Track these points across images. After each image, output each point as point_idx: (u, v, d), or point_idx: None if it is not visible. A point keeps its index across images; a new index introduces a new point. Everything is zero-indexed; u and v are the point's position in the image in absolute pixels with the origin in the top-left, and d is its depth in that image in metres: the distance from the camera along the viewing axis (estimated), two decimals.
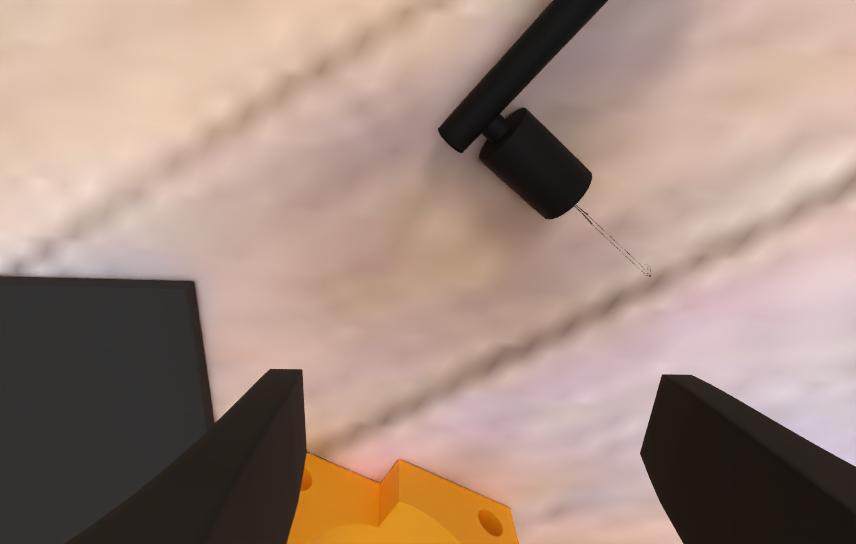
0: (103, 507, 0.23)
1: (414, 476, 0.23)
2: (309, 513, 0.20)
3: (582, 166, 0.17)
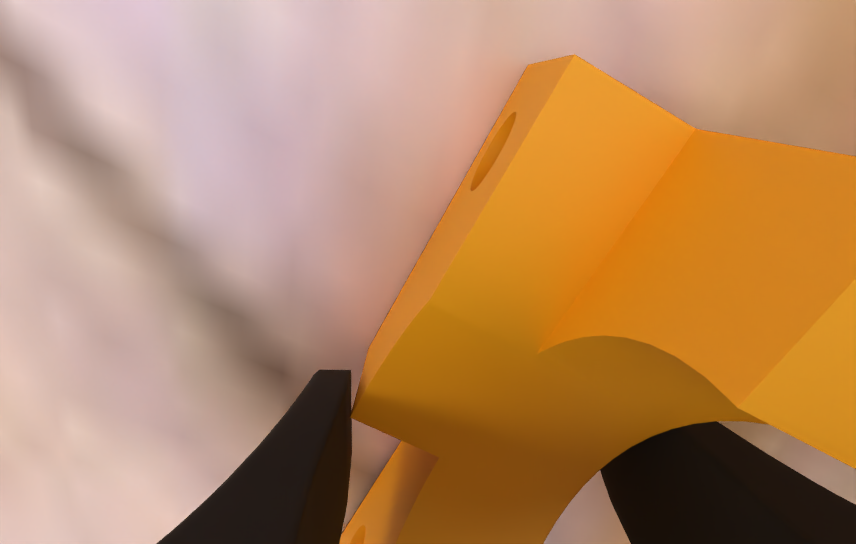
0: None
1: (382, 332, 0.10)
2: None
3: None
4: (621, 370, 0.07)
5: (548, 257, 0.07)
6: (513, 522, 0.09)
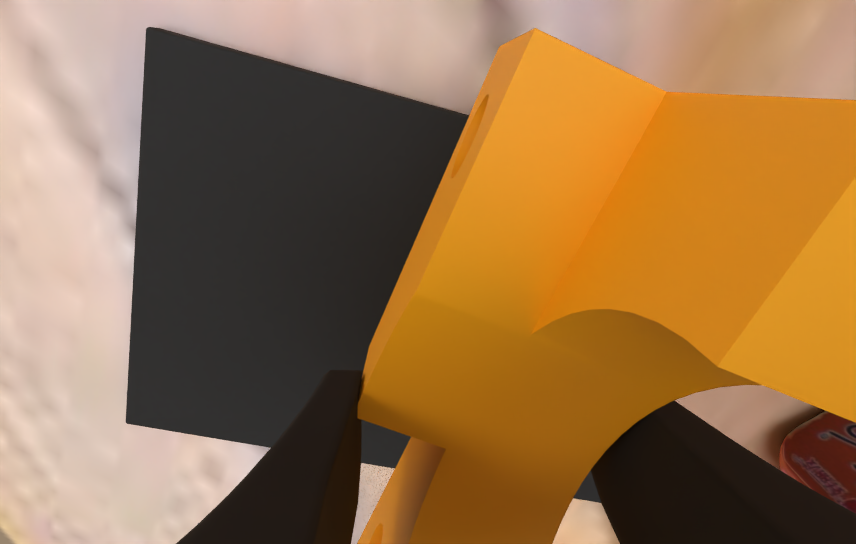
0: None
1: (380, 328, 0.10)
2: None
3: None
4: (615, 343, 0.07)
5: (531, 237, 0.07)
6: (527, 507, 0.09)
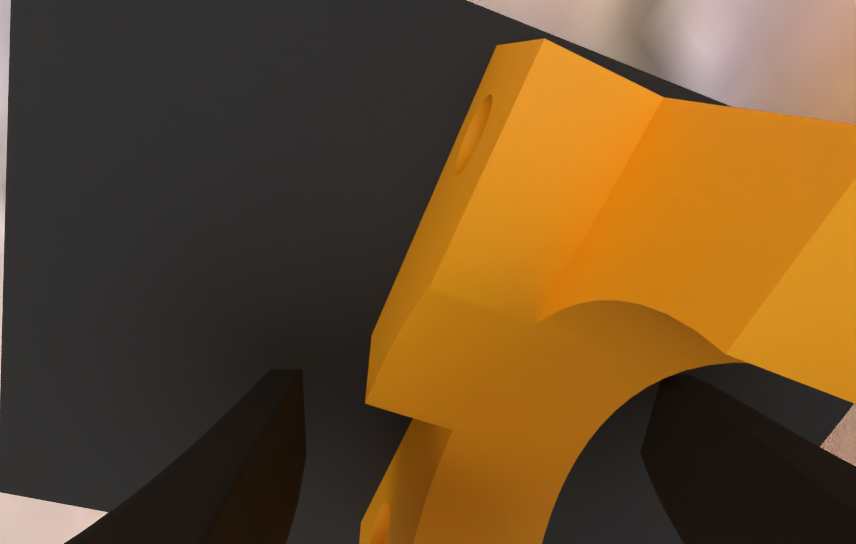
0: None
1: (384, 318, 0.10)
2: None
3: None
4: (615, 329, 0.07)
5: (538, 232, 0.07)
6: (528, 481, 0.10)
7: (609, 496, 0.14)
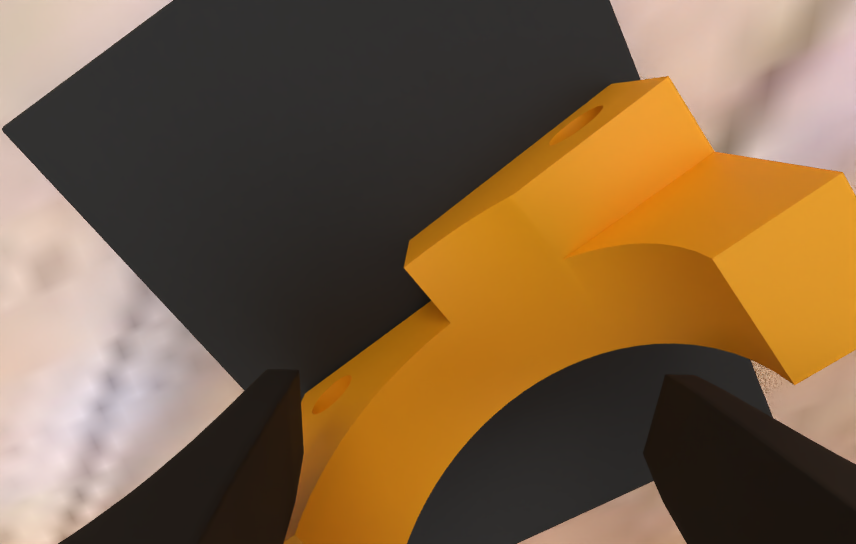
0: None
1: (433, 227, 0.13)
2: (346, 409, 0.12)
3: None
4: (614, 284, 0.10)
5: (598, 196, 0.10)
6: (479, 392, 0.12)
7: (457, 460, 0.17)
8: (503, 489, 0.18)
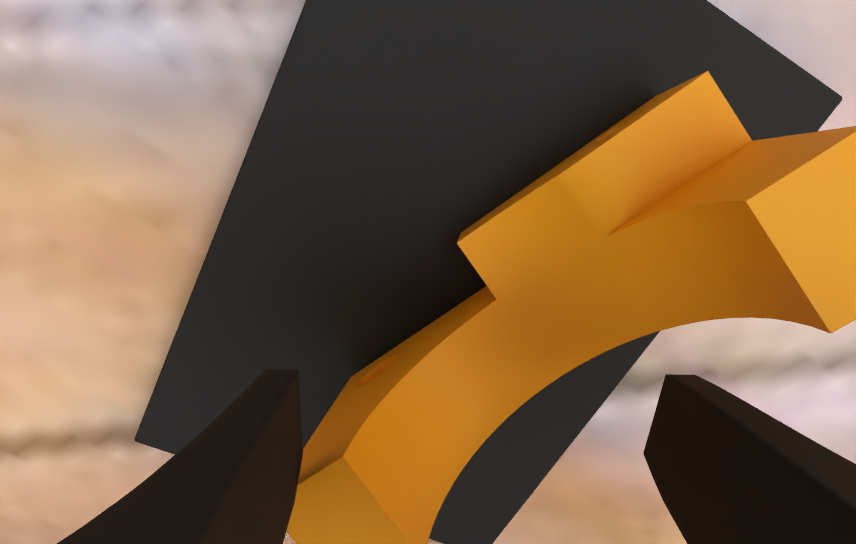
0: None
1: (484, 218, 0.14)
2: (392, 374, 0.13)
3: None
4: (655, 258, 0.11)
5: (641, 178, 0.11)
6: (520, 370, 0.13)
7: (299, 380, 0.17)
8: None
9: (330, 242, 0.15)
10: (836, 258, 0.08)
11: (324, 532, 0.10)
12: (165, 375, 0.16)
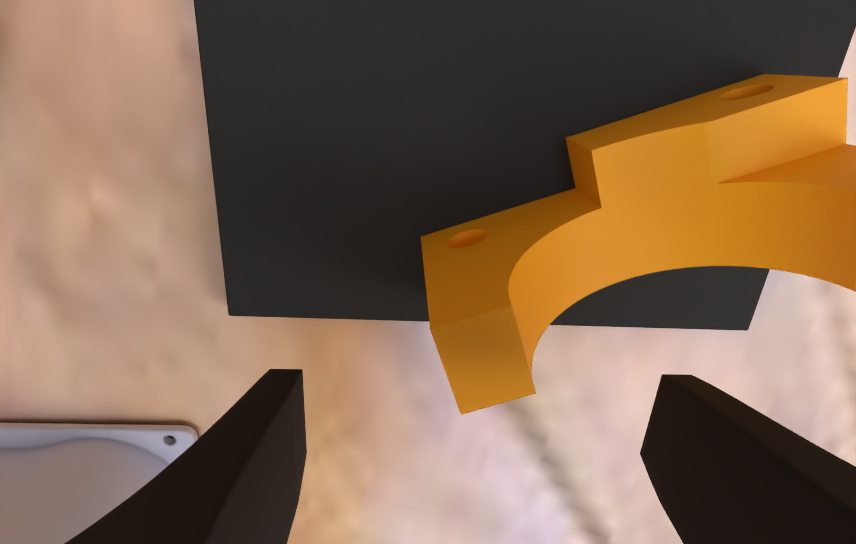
0: (486, 192, 0.17)
1: (598, 132, 0.16)
2: (501, 246, 0.14)
3: None
4: (747, 212, 0.14)
5: (762, 146, 0.13)
6: (595, 269, 0.15)
7: (361, 25, 0.15)
8: (291, 47, 0.15)
9: None
10: None
11: (469, 359, 0.12)
12: None
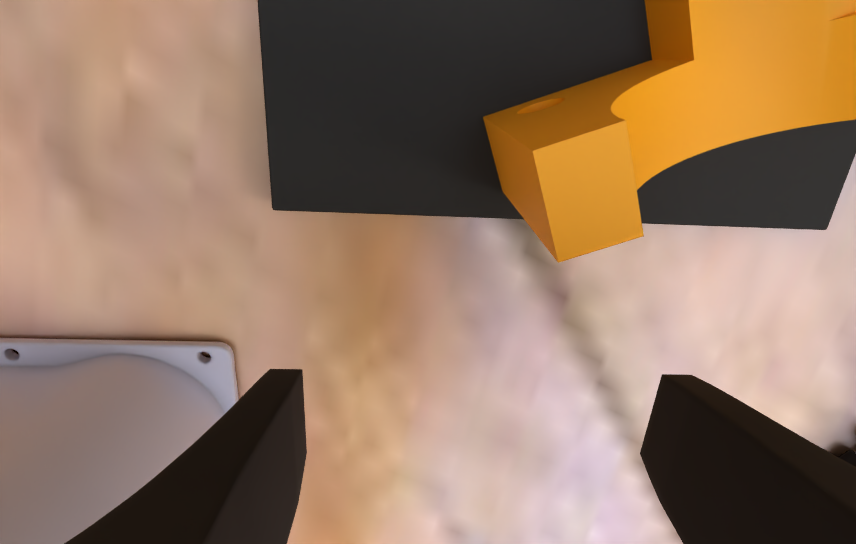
0: (555, 64, 0.16)
1: None
2: (586, 100, 0.13)
3: None
4: None
5: None
6: (683, 134, 0.14)
7: None
8: None
9: None
10: None
11: (573, 190, 0.11)
12: None
